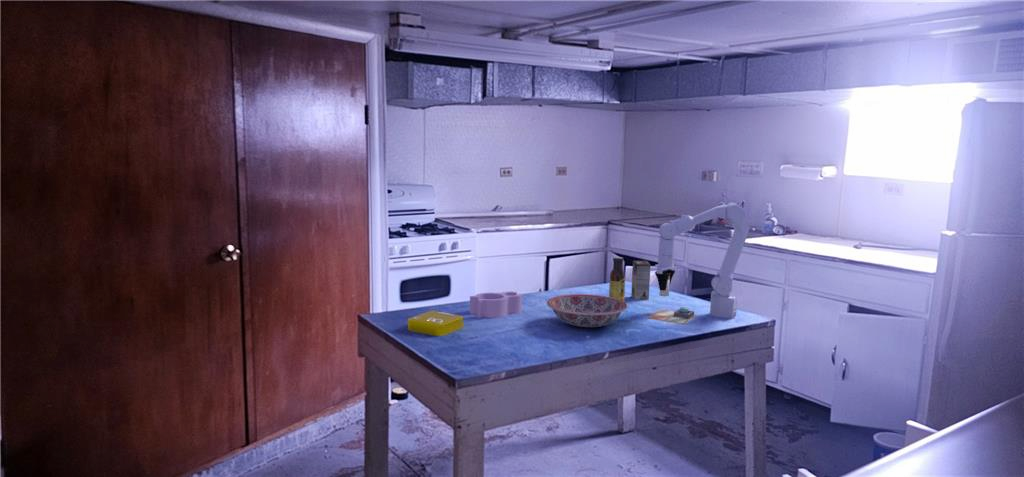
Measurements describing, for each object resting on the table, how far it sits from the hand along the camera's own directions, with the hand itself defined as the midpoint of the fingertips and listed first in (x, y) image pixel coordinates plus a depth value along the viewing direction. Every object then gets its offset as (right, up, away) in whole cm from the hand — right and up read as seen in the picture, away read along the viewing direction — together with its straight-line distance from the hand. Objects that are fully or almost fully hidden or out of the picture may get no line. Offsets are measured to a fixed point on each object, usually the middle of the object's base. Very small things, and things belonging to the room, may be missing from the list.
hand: (664, 289), depth 255 cm
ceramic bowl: (-32, -12, -15) cm, 37 cm away
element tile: (-86, -13, -22) cm, 90 cm away
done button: (+7, -10, -4) cm, 12 cm away
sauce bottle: (-16, -8, +14) cm, 23 cm away
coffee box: (-4, -7, +26) cm, 27 cm away
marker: (0, -2, 0) cm, 2 cm away
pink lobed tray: (-65, -9, 0) cm, 66 cm away
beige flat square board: (+1, -11, -5) cm, 12 cm away
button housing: (+7, -10, -4) cm, 12 cm away
